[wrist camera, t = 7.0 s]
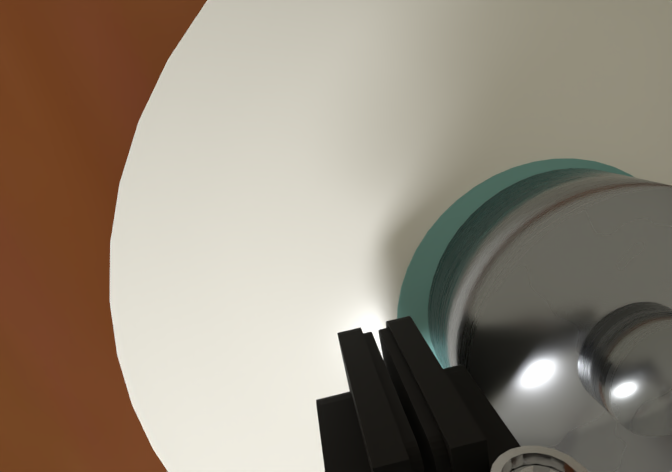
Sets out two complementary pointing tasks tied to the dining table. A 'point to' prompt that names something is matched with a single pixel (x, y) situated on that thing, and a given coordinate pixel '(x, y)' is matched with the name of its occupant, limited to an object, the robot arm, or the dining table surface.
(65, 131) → the dining table surface
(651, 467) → the cover
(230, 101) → the white plate
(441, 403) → the robot arm
